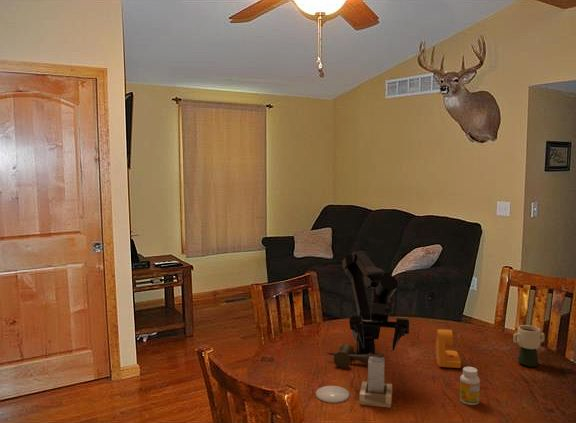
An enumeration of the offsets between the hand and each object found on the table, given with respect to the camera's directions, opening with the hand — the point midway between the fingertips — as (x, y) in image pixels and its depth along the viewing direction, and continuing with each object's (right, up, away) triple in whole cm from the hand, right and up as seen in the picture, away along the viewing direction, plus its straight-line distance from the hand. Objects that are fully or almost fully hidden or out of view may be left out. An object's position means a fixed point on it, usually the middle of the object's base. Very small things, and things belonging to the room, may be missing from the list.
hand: (378, 349), depth 148 cm
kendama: (-4, -11, +21) cm, 24 cm away
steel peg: (-2, -13, -5) cm, 14 cm away
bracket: (+29, -11, +20) cm, 36 cm away
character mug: (+56, -11, +18) cm, 59 cm away
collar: (-2, -13, -5) cm, 14 cm away
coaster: (-14, -13, -3) cm, 20 cm away
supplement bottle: (+26, -13, -8) cm, 30 cm away
